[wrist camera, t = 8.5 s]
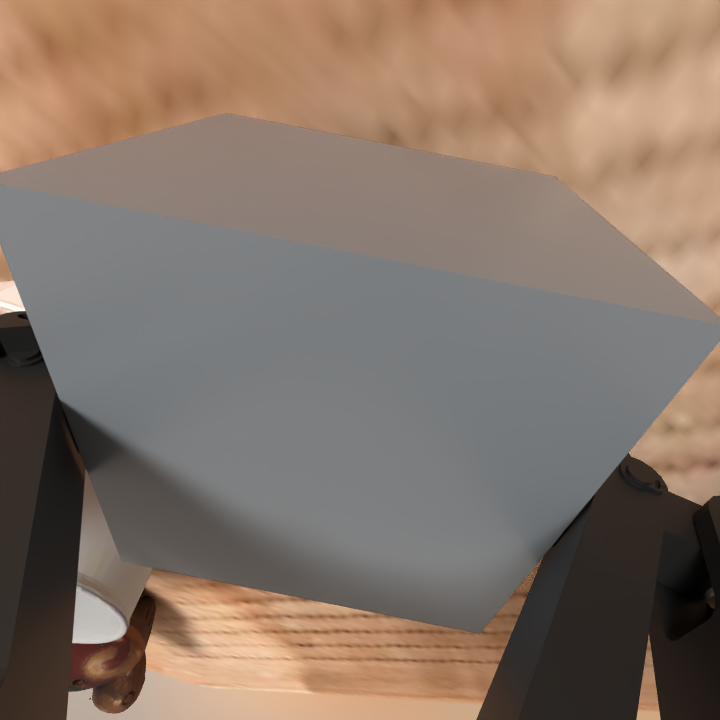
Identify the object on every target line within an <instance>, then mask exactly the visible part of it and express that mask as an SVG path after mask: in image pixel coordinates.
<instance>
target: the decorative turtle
mask: <svg viewBox="0 0 720 720" xmlns="http://www.w3.org/2000/svg"><path fill="white" fill-rule="evenodd" d="M155 611H156V605H155V602H154V599H152V598H151V597H147V598H142V599H139V600H138V602H137V605H136V607H135V609H134V611H133V613H132V615H131V617H130V621H129V627H128V630H127V632H126V633H125V635H123V636H122V637H121V638H119V639H117V640H115V641H111V642H107V643H99V644H81V643H72V653H71V666H70V679H69V691H70V692H72V691H81V690H86V689H90V688H93V695H92V700H93V703H94V705H95V706H96V707H97V708H98V709H99V710H101V711H104V712H107V713H120V712H123V711H125V710H126V709H128V708H129V707H130V706H131V705H132V704H133V703H134V702H135V701H136V699H137V697H138V696H139V693H140V691H141V689H142V686H143V684H144V681H145V671H146V655H145V649H146V645H147V642H148V640H149V636H150V633H151V629H152V624H153V620H154V615H155ZM90 699H91V698H90Z"/></svg>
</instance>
